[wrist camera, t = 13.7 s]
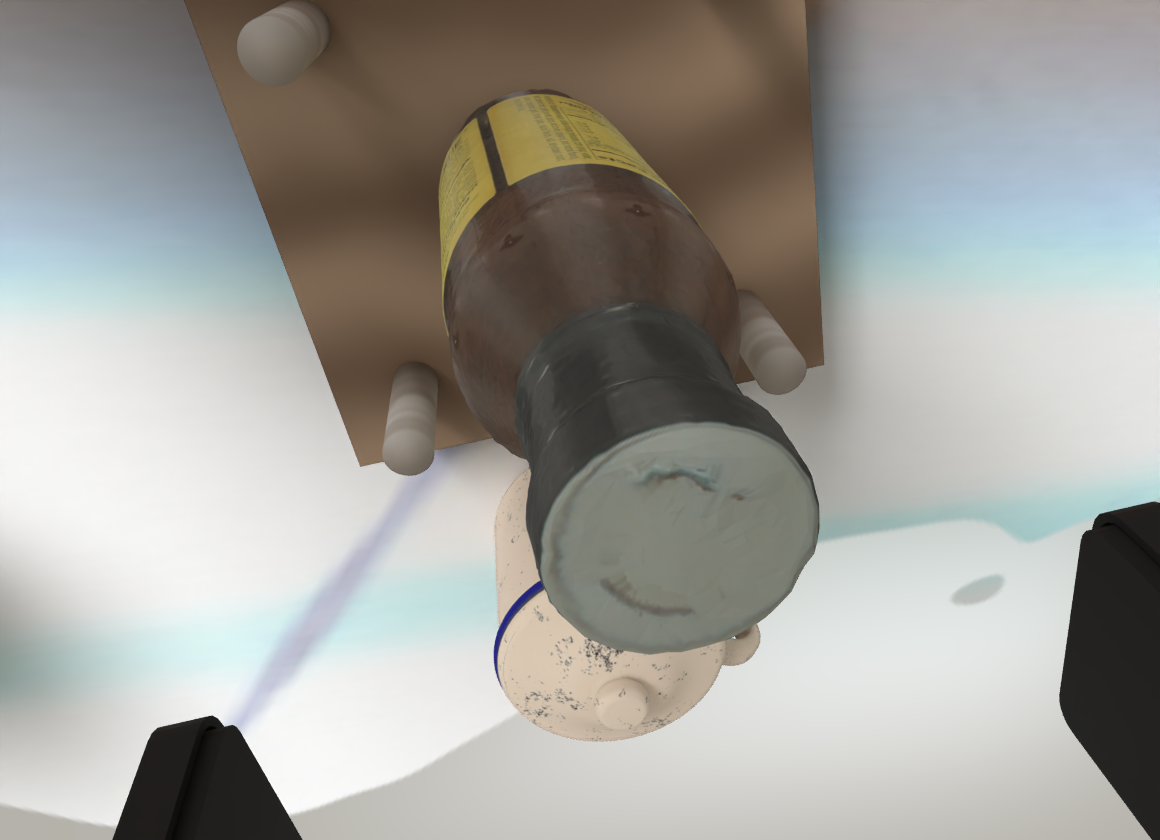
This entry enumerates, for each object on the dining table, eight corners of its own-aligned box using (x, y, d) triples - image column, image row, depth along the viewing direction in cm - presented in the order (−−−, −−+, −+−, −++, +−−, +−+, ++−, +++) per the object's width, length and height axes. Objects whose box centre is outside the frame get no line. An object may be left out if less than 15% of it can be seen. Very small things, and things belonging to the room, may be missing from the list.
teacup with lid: (462, 572, 43) (461, 777, 33) (529, 414, 39) (552, 592, 29) (685, 626, 46) (747, 827, 36) (768, 485, 42) (862, 667, 32)
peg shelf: (201, -68, 29) (96, -58, 20) (749, -188, 29) (863, -226, 21) (371, 409, 38) (345, 548, 30) (787, 317, 38) (876, 431, 30)
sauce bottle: (507, 303, 31) (569, 787, 14) (401, 148, 28) (317, 526, 11) (668, 207, 30) (944, 603, 13) (575, 36, 27) (779, 260, 10)
